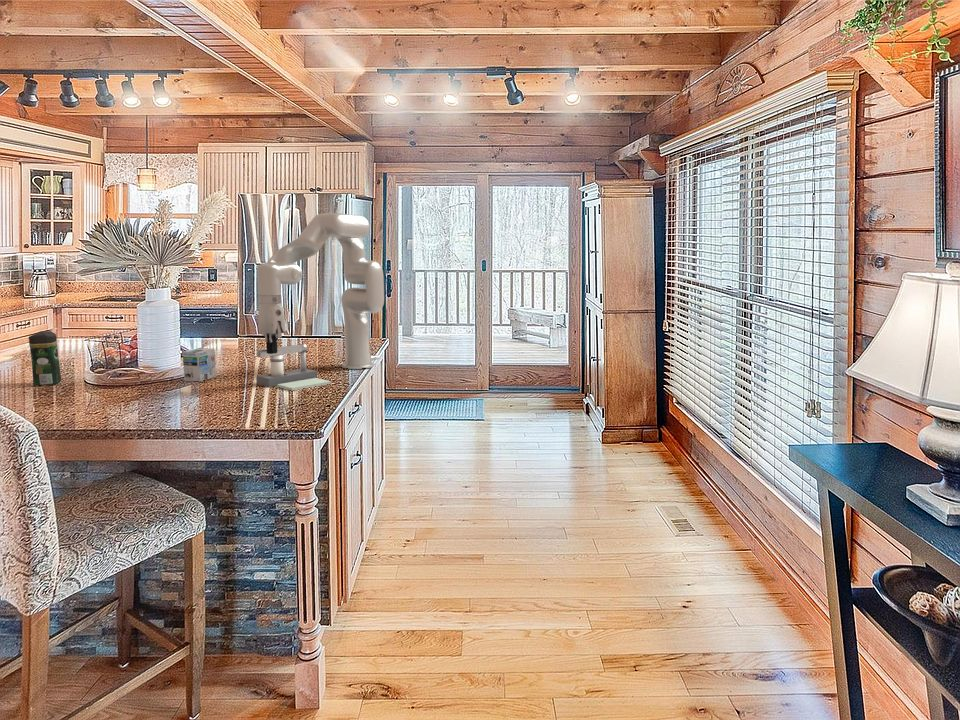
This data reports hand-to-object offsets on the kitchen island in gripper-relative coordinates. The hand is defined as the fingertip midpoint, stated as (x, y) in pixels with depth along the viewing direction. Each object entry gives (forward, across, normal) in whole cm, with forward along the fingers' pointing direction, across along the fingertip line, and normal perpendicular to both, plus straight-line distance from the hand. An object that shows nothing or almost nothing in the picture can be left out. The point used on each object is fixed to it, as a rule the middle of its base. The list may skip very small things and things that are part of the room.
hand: (272, 353), depth 249 cm
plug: (+12, +4, -4) cm, 13 cm away
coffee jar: (+12, +61, +52) cm, 81 cm away
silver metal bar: (+1, +4, -7) cm, 8 cm away
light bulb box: (+12, +31, +11) cm, 35 cm away
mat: (+12, -7, -8) cm, 16 cm away
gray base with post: (+12, +4, -8) cm, 15 cm away
